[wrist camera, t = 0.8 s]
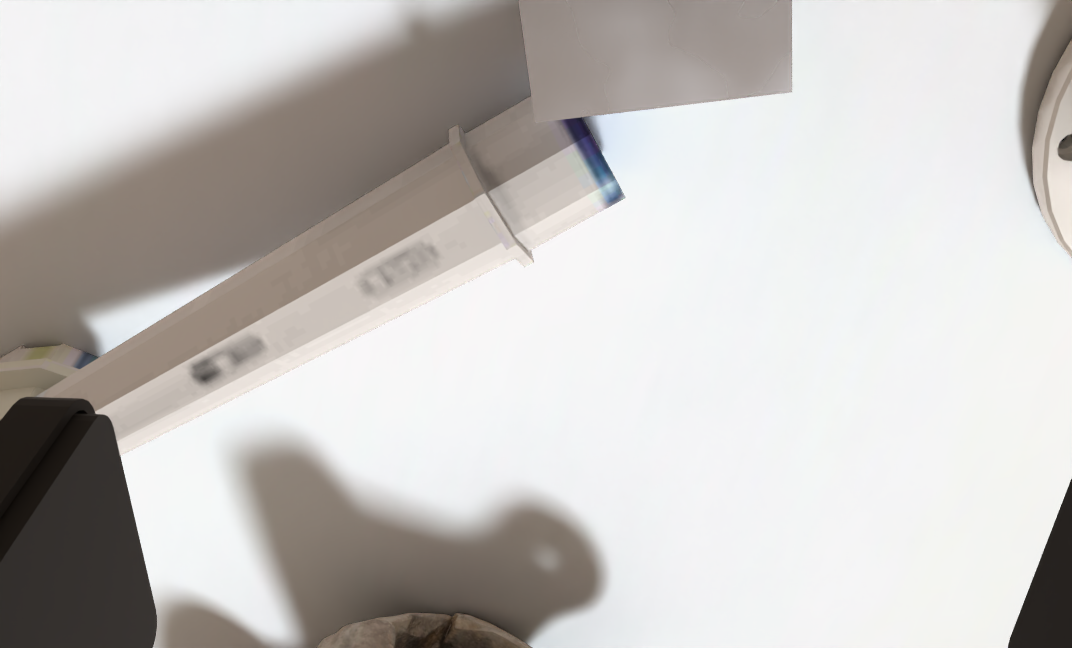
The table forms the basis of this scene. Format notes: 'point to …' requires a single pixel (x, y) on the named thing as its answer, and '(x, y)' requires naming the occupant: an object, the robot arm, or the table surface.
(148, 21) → the table surface
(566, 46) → the brushed grey cube
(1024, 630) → the robot arm
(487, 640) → the grey clay vessel
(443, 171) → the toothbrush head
